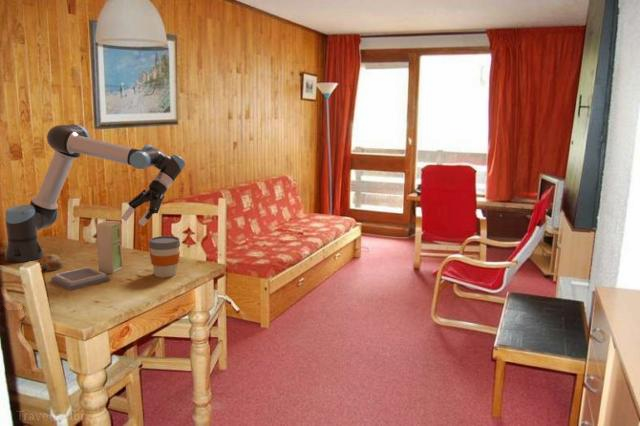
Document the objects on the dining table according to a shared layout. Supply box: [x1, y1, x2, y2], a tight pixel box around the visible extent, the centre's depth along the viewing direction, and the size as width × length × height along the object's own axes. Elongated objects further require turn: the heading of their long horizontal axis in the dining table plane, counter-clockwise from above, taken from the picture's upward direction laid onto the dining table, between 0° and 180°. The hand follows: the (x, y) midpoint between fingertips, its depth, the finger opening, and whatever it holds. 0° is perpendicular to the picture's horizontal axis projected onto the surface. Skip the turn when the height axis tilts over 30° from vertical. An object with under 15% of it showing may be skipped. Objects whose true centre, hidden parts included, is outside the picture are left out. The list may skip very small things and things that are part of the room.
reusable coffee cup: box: [148, 235, 181, 278], centre depth 214 cm, size 13×13×15 cm
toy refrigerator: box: [95, 220, 124, 275], centre depth 215 cm, size 8×7×21 cm
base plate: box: [50, 266, 111, 291], centre depth 204 cm, size 16×16×3 cm
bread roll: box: [37, 253, 64, 272], centre depth 218 cm, size 10×10×8 cm
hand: (131, 221), depth 221 cm, fingers open, 13 cm apart
